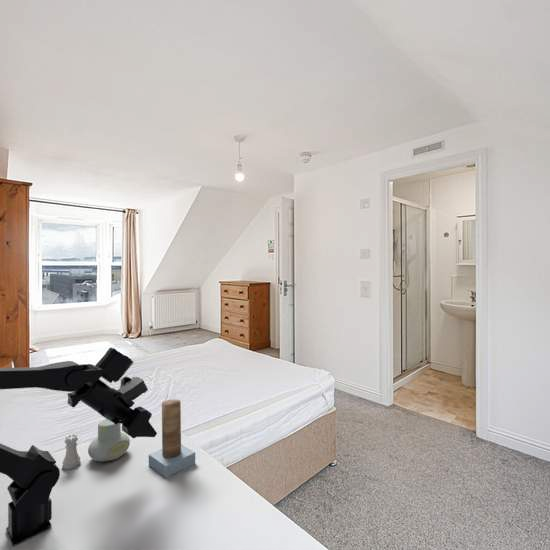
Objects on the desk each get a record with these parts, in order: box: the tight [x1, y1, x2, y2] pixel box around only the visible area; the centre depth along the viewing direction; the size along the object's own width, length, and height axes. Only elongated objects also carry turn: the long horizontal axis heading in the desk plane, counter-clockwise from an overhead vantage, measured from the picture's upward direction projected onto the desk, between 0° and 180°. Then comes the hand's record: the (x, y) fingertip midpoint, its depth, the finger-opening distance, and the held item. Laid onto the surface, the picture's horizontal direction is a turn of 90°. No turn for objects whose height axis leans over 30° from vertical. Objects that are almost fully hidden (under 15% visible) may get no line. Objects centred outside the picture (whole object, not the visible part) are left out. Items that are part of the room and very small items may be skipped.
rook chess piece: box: [61, 434, 82, 471], centre depth 92 cm, size 4×4×8 cm
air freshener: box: [87, 418, 131, 462], centre depth 97 cm, size 11×8×10 cm
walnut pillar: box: [161, 398, 182, 458], centre depth 92 cm, size 5×5×14 cm
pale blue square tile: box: [148, 444, 196, 479], centre depth 92 cm, size 9×9×3 cm
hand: (147, 429), depth 87 cm, fingers open, 9 cm apart
